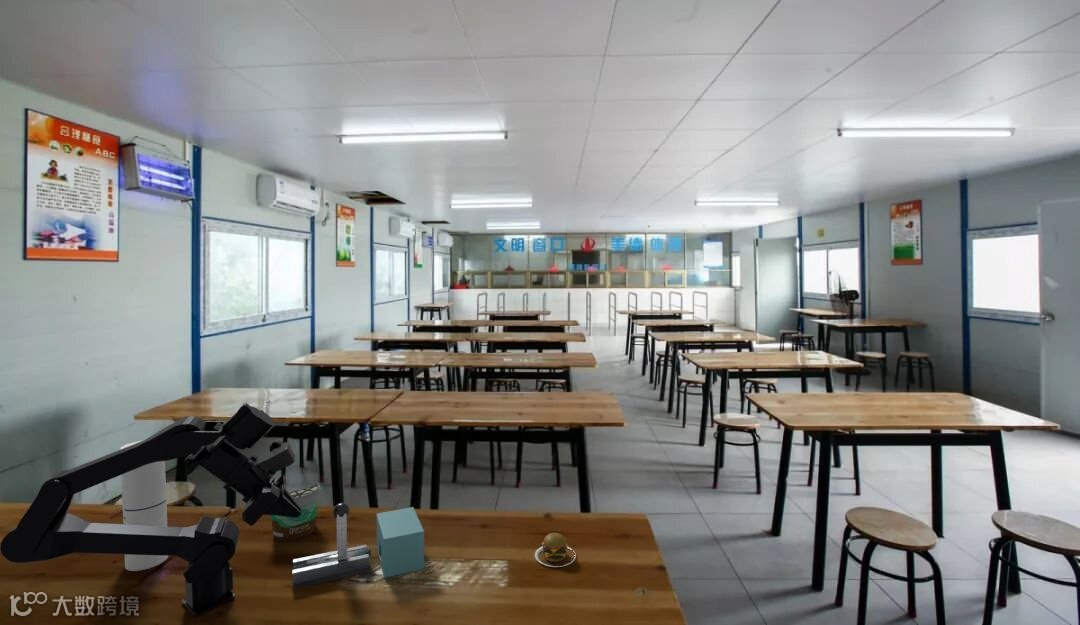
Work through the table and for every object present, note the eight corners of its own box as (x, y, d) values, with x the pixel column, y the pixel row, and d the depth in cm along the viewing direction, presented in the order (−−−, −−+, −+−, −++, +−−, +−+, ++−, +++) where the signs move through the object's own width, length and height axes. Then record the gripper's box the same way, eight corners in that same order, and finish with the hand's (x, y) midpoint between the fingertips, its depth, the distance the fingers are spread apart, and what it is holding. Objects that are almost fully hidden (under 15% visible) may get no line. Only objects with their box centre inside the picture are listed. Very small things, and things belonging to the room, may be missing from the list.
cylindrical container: (144, 572, 100) (139, 452, 98) (115, 568, 101) (110, 449, 100) (176, 554, 107) (172, 440, 105) (149, 550, 108) (145, 438, 107)
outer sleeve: (292, 589, 95) (292, 573, 95) (293, 574, 99) (293, 559, 99) (369, 571, 101) (369, 556, 100) (366, 558, 105) (366, 544, 105)
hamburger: (575, 580, 99) (575, 554, 99) (519, 569, 103) (519, 544, 103) (588, 550, 111) (588, 526, 110) (537, 541, 114) (537, 518, 114)
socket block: (384, 578, 99) (383, 539, 98) (376, 548, 109) (376, 513, 109) (424, 568, 102) (424, 531, 101) (413, 540, 113) (413, 507, 112)
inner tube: (306, 576, 97) (305, 512, 96) (307, 567, 99) (305, 506, 99) (371, 562, 102) (370, 501, 101) (369, 554, 105) (368, 495, 104)
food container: (279, 549, 109) (278, 505, 108) (267, 540, 113) (265, 497, 112) (332, 527, 119) (331, 487, 118) (318, 520, 122) (318, 480, 122)
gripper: (262, 448, 85) (332, 499, 91) (270, 420, 102) (329, 465, 107) (209, 500, 82) (285, 550, 88) (226, 463, 99) (289, 506, 105)
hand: (299, 513), depth 97 cm, fingers closed
